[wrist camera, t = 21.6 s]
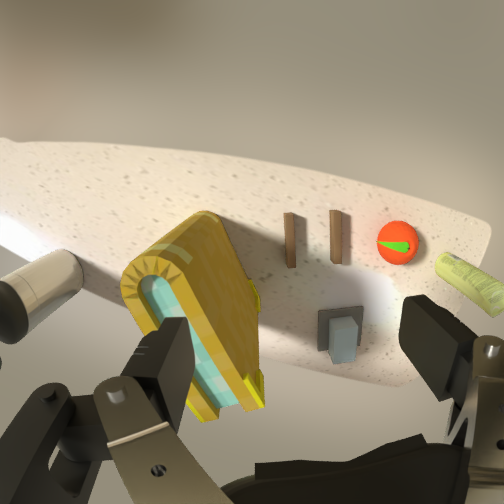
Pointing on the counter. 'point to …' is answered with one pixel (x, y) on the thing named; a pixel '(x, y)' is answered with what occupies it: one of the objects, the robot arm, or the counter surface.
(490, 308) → the tube
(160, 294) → the book
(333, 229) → the slot
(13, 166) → the counter surface
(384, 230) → the clementine
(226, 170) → the counter surface
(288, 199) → the counter surface
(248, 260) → the counter surface
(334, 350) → the block
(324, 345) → the mat
